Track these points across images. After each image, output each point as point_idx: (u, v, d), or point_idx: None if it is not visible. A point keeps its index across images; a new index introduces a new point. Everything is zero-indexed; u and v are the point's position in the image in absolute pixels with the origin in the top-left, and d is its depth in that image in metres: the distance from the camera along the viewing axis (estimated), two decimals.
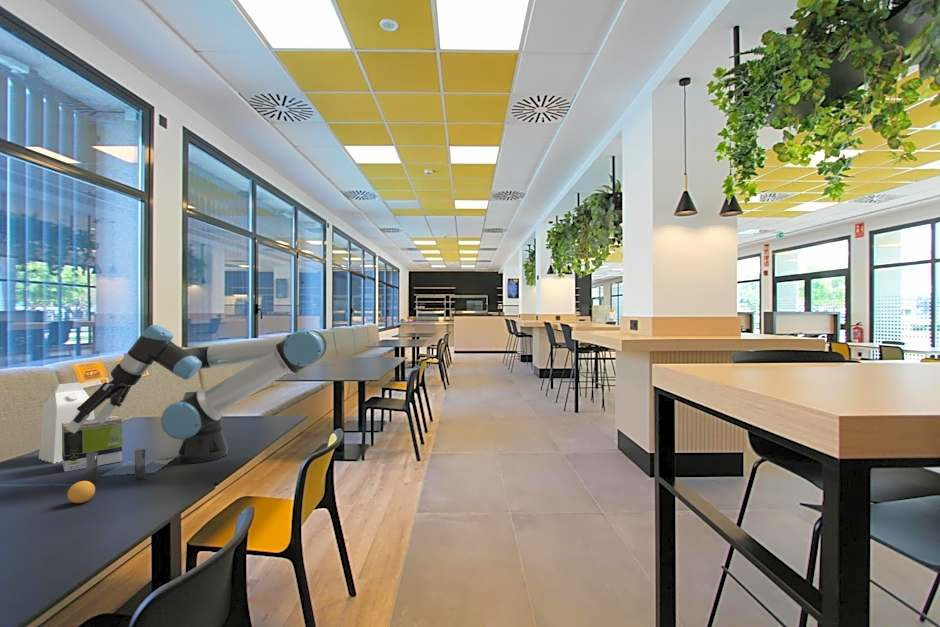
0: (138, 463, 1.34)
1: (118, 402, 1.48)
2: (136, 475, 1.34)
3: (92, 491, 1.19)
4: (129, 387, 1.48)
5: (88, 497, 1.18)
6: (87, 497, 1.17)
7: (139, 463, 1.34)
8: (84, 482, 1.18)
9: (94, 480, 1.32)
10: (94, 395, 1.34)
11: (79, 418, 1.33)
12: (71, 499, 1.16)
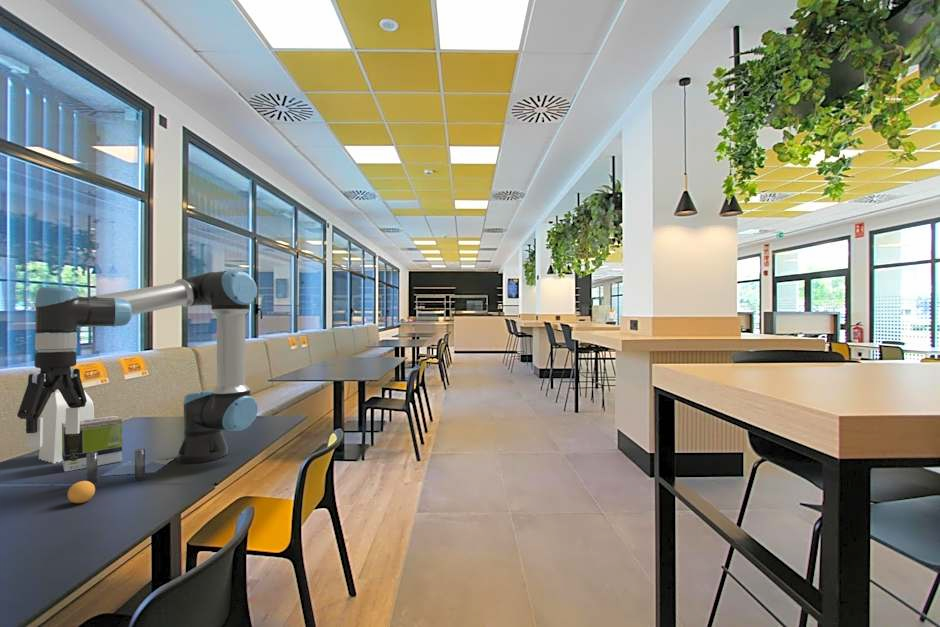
0: (138, 463, 1.34)
1: (78, 401, 1.16)
2: (136, 475, 1.34)
3: (92, 491, 1.19)
4: (77, 378, 1.16)
5: (88, 497, 1.18)
6: (87, 497, 1.17)
7: (139, 463, 1.34)
8: (84, 482, 1.18)
9: (94, 480, 1.32)
10: (27, 393, 1.02)
11: (31, 426, 1.01)
12: (71, 499, 1.16)
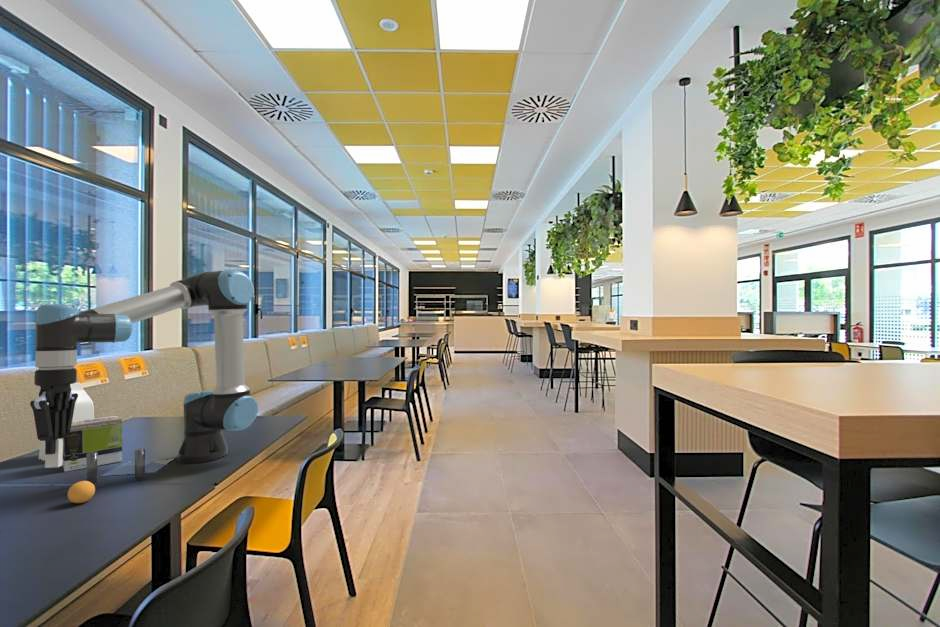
0: (138, 463, 1.34)
1: (63, 430, 1.10)
2: (136, 475, 1.34)
3: (92, 491, 1.19)
4: (73, 401, 1.14)
5: (88, 497, 1.18)
6: (87, 497, 1.17)
7: (139, 463, 1.34)
8: (84, 482, 1.18)
9: (94, 480, 1.32)
10: (37, 419, 1.04)
11: (50, 448, 1.07)
12: (71, 499, 1.16)
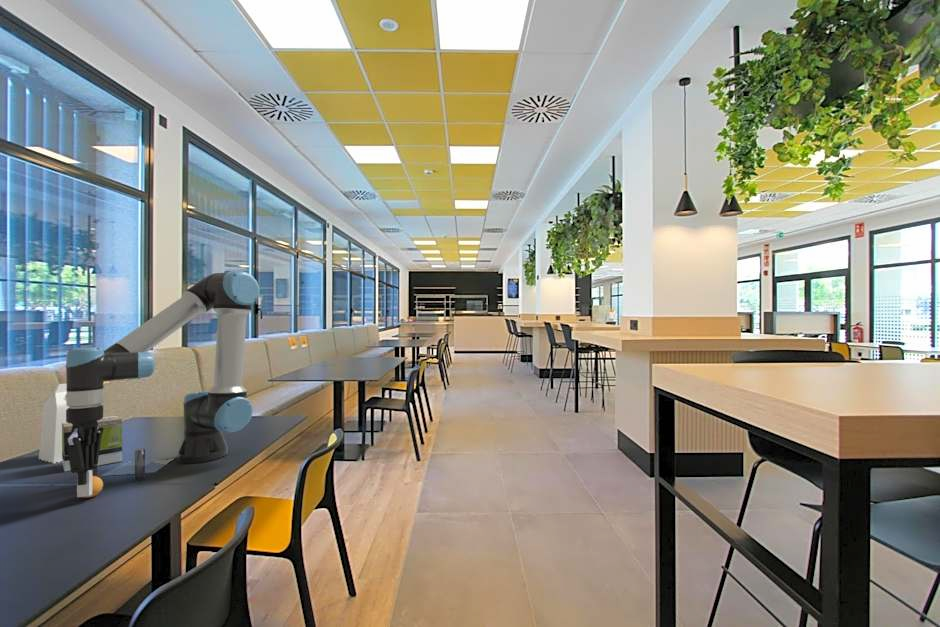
0: (138, 463, 1.34)
1: (92, 462, 1.21)
2: (136, 475, 1.34)
3: (100, 485, 1.22)
4: (99, 435, 1.24)
5: (95, 488, 1.21)
6: (95, 487, 1.21)
7: (139, 463, 1.34)
8: None
9: None
10: (70, 454, 1.14)
11: (82, 479, 1.17)
12: None
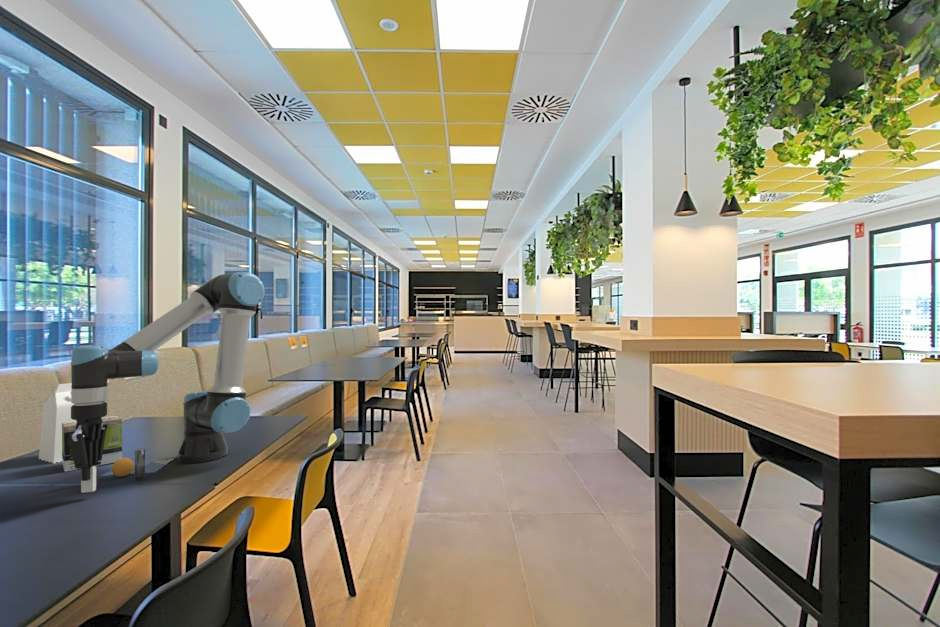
0: (138, 463, 1.34)
1: (96, 458, 1.23)
2: (136, 475, 1.34)
3: (132, 466, 1.39)
4: (104, 431, 1.26)
5: (128, 469, 1.38)
6: (127, 468, 1.38)
7: (139, 463, 1.34)
8: (128, 458, 1.40)
9: None
10: (74, 450, 1.17)
11: (85, 475, 1.20)
12: (114, 468, 1.36)
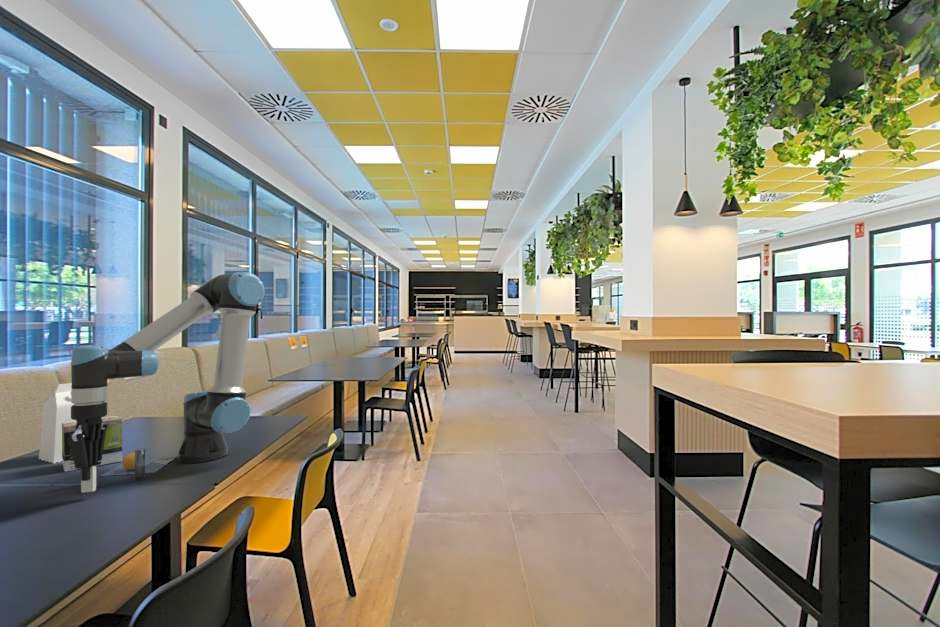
0: (138, 463, 1.34)
1: (96, 458, 1.23)
2: (136, 475, 1.34)
3: None
4: (104, 431, 1.26)
5: None
6: None
7: (139, 463, 1.34)
8: None
9: None
10: (74, 450, 1.17)
11: (85, 475, 1.20)
12: None
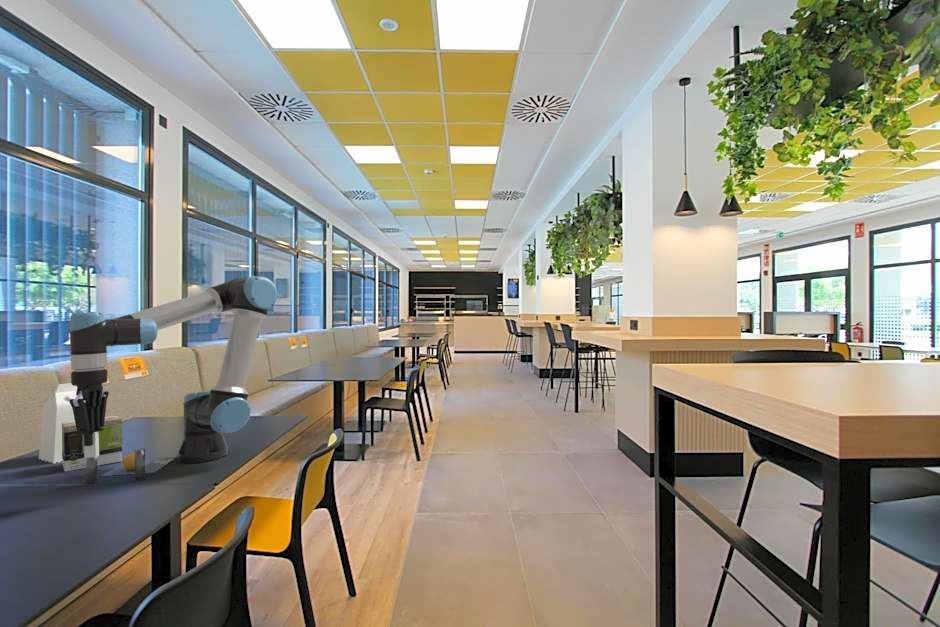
0: (138, 463, 1.34)
1: (98, 424, 1.23)
2: (136, 475, 1.34)
3: None
4: (105, 398, 1.27)
5: None
6: None
7: (139, 463, 1.34)
8: None
9: (94, 480, 1.32)
10: (76, 415, 1.17)
11: (88, 440, 1.20)
12: None
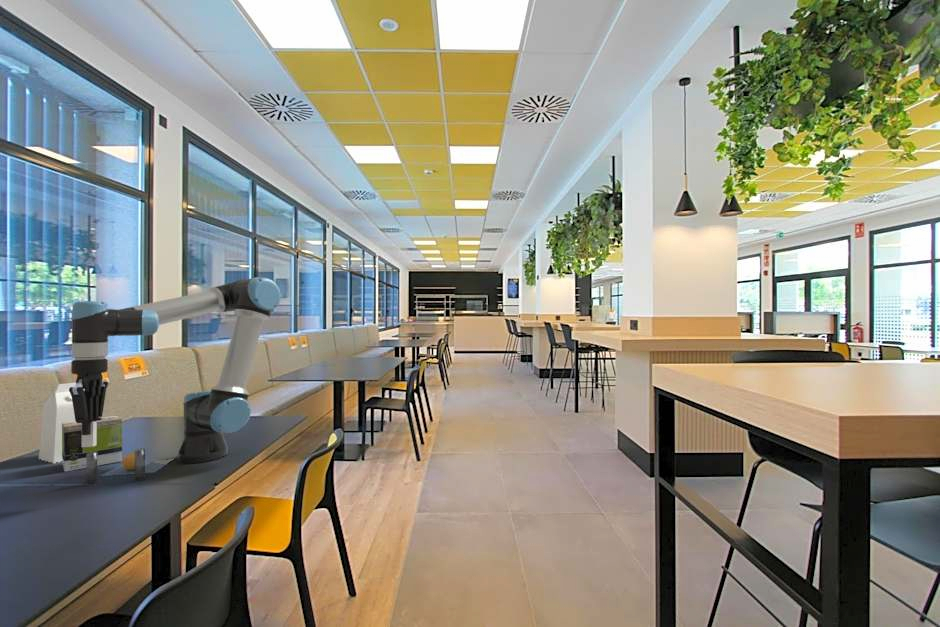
0: (138, 463, 1.34)
1: (97, 413, 1.23)
2: (136, 475, 1.34)
3: None
4: (104, 388, 1.27)
5: None
6: None
7: (139, 463, 1.34)
8: None
9: (94, 480, 1.32)
10: (75, 403, 1.17)
11: (86, 429, 1.20)
12: None
